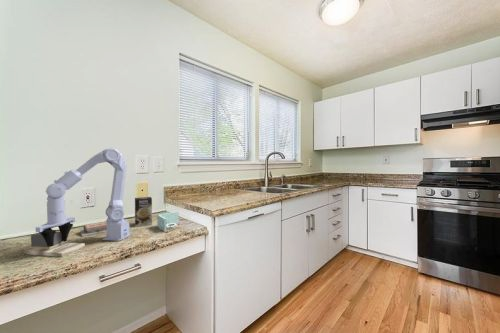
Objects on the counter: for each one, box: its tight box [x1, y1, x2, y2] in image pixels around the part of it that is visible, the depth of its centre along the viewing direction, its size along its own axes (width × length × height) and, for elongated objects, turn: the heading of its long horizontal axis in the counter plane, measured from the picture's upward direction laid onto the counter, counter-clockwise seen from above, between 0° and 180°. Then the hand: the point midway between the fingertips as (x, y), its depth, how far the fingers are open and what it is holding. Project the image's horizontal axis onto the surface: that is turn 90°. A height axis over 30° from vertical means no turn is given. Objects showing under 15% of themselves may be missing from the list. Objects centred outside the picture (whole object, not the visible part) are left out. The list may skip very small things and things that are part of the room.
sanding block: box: [30, 231, 63, 249], centre depth 93 cm, size 9×5×6 cm, turn 82°
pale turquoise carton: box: [156, 211, 180, 233], centre depth 124 cm, size 12×12×8 cm
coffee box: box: [134, 196, 153, 228], centre depth 128 cm, size 9×6×16 cm
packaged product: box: [79, 221, 107, 238], centre depth 118 cm, size 18×5×10 cm
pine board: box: [23, 241, 86, 258], centre depth 92 cm, size 18×10×2 cm, turn 82°
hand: (57, 243), depth 92 cm, fingers closed on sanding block, 5 cm apart
